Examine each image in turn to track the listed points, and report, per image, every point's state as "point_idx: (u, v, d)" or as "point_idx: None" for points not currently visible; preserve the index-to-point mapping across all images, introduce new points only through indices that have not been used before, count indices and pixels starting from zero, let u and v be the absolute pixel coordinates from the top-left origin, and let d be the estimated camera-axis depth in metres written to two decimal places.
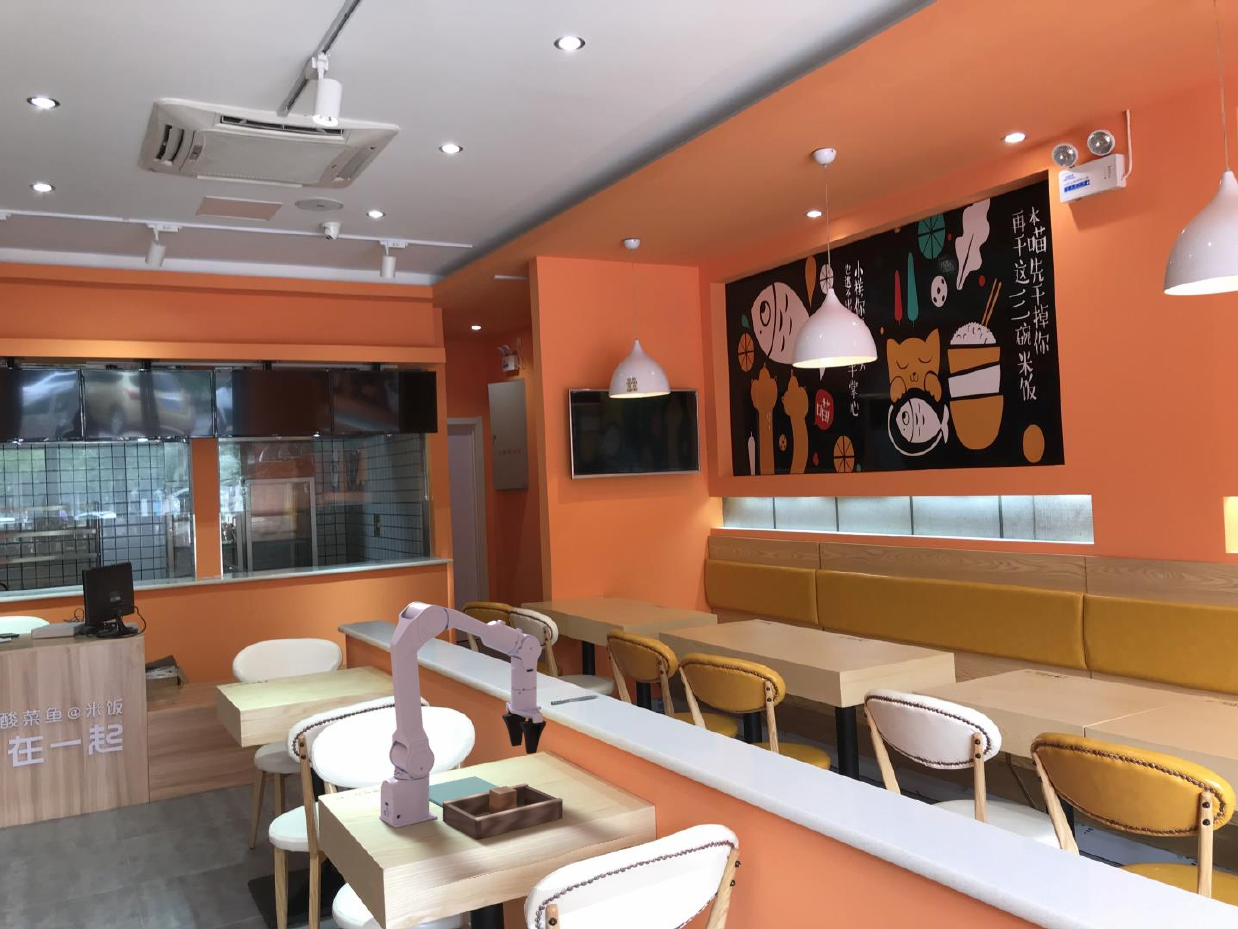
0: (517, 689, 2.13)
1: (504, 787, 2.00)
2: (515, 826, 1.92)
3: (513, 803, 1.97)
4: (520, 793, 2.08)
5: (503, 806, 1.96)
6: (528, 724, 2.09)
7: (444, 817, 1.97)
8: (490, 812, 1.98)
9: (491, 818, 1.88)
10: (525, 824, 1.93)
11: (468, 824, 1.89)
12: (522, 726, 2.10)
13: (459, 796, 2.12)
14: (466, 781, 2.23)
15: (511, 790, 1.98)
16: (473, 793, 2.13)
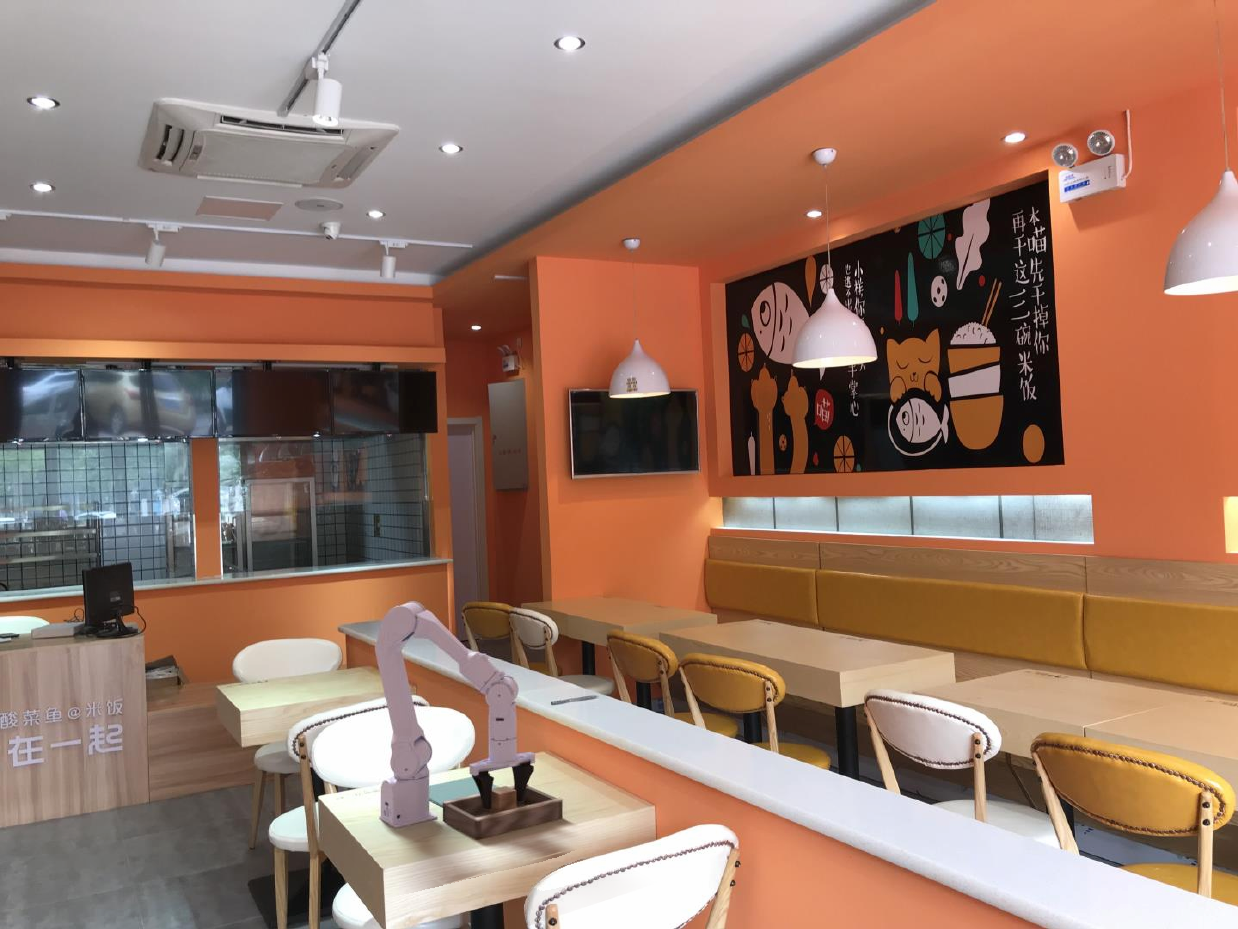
0: None
1: (503, 786, 2.00)
2: (515, 826, 1.92)
3: (513, 803, 1.97)
4: None
5: (503, 806, 1.96)
6: None
7: (444, 817, 1.97)
8: (490, 812, 1.98)
9: (491, 818, 1.88)
10: (525, 824, 1.93)
11: (468, 824, 1.89)
12: None
13: (459, 796, 2.12)
14: (466, 781, 2.23)
15: (511, 790, 1.98)
16: (473, 793, 2.13)
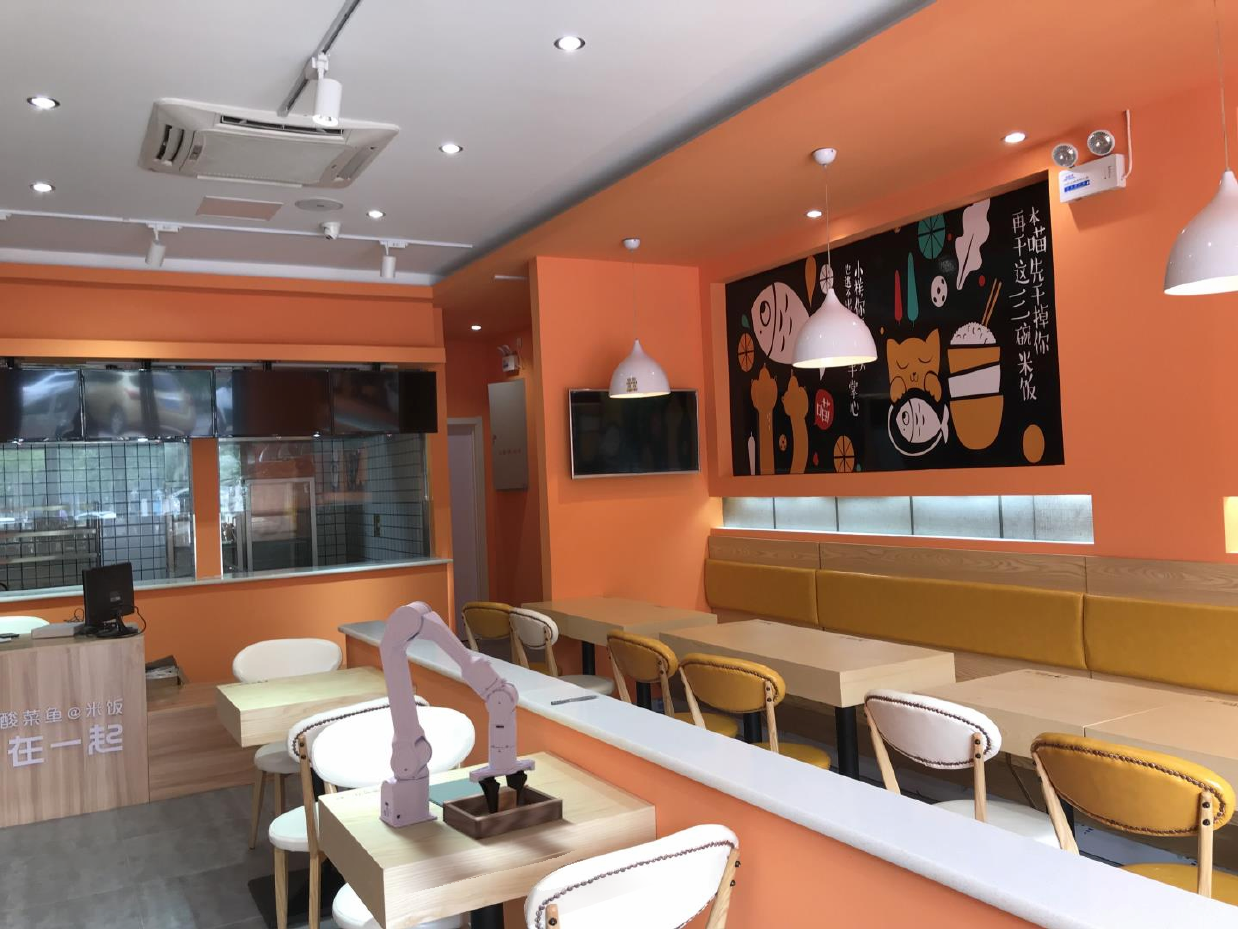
0: None
1: (503, 786, 2.00)
2: (515, 826, 1.92)
3: (513, 803, 1.97)
4: (520, 793, 2.08)
5: (503, 806, 1.96)
6: None
7: (444, 817, 1.97)
8: None
9: (491, 818, 1.88)
10: (525, 824, 1.93)
11: (468, 824, 1.89)
12: None
13: (459, 796, 2.12)
14: (466, 781, 2.23)
15: (511, 790, 1.98)
16: (473, 793, 2.13)
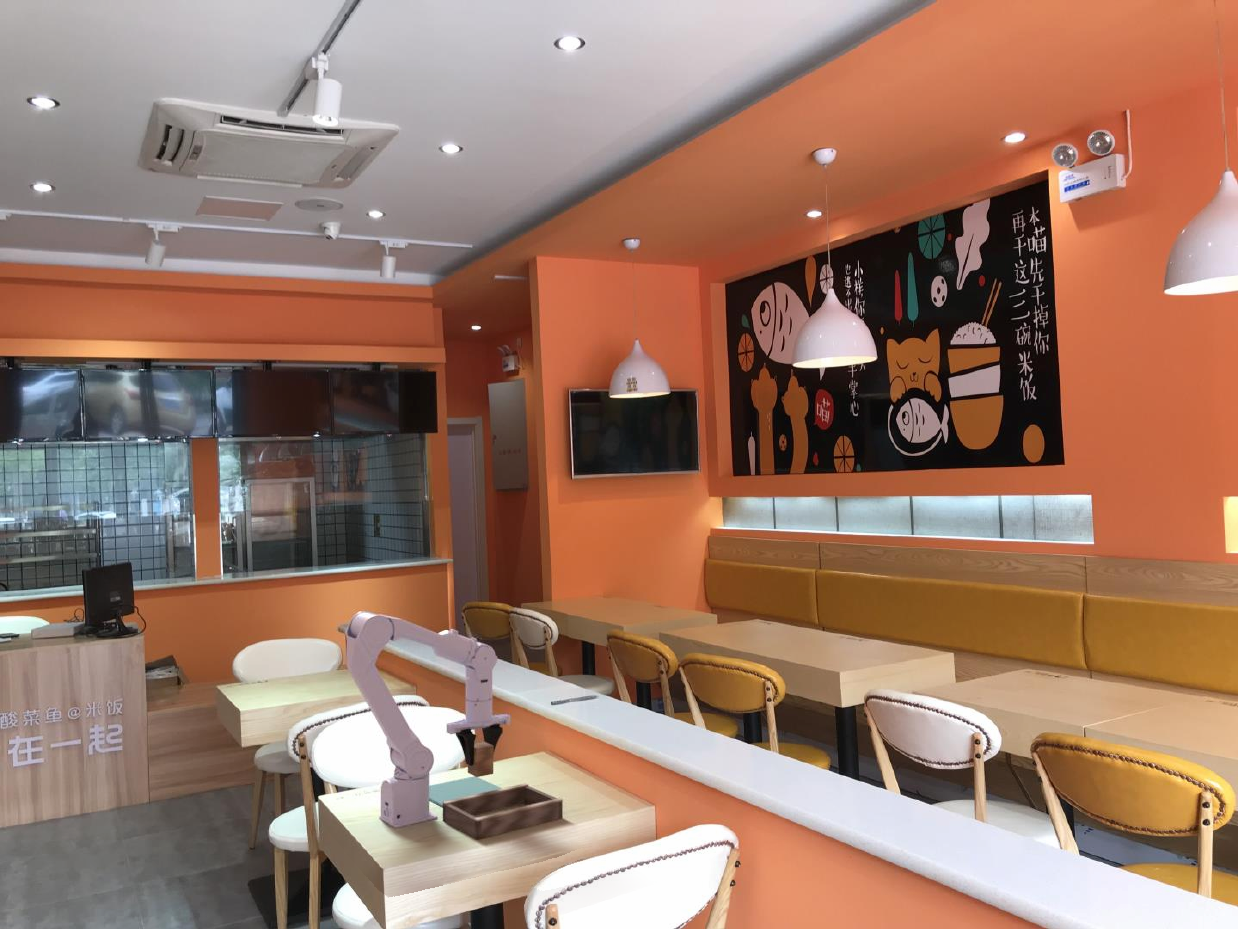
0: None
1: (482, 742, 2.10)
2: (515, 826, 1.92)
3: (490, 757, 2.07)
4: (520, 793, 2.08)
5: (480, 760, 2.05)
6: (455, 731, 2.07)
7: (444, 817, 1.97)
8: (468, 766, 2.08)
9: (491, 818, 1.88)
10: (525, 824, 1.93)
11: (468, 824, 1.89)
12: None
13: (459, 796, 2.12)
14: (466, 781, 2.23)
15: (488, 745, 2.07)
16: (473, 793, 2.13)
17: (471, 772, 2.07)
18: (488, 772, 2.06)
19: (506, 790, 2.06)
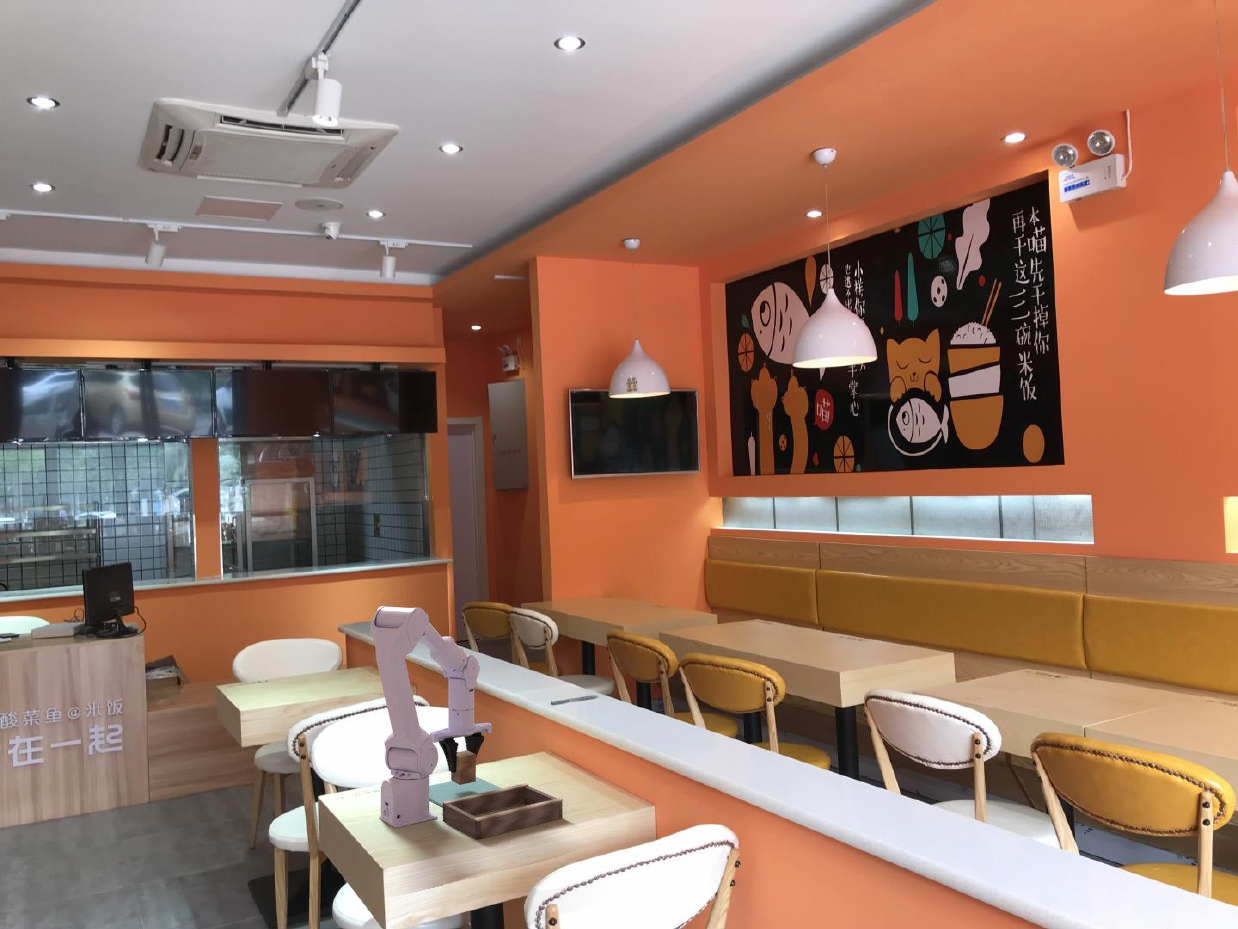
0: None
1: (465, 751, 2.17)
2: (515, 826, 1.92)
3: (473, 766, 2.14)
4: (520, 793, 2.08)
5: (463, 769, 2.13)
6: None
7: (444, 817, 1.97)
8: (452, 774, 2.15)
9: (491, 818, 1.88)
10: (525, 824, 1.93)
11: (468, 824, 1.89)
12: None
13: (459, 796, 2.12)
14: None
15: (471, 754, 2.15)
16: (473, 793, 2.13)
17: (454, 780, 2.14)
18: (471, 780, 2.14)
19: (506, 790, 2.06)
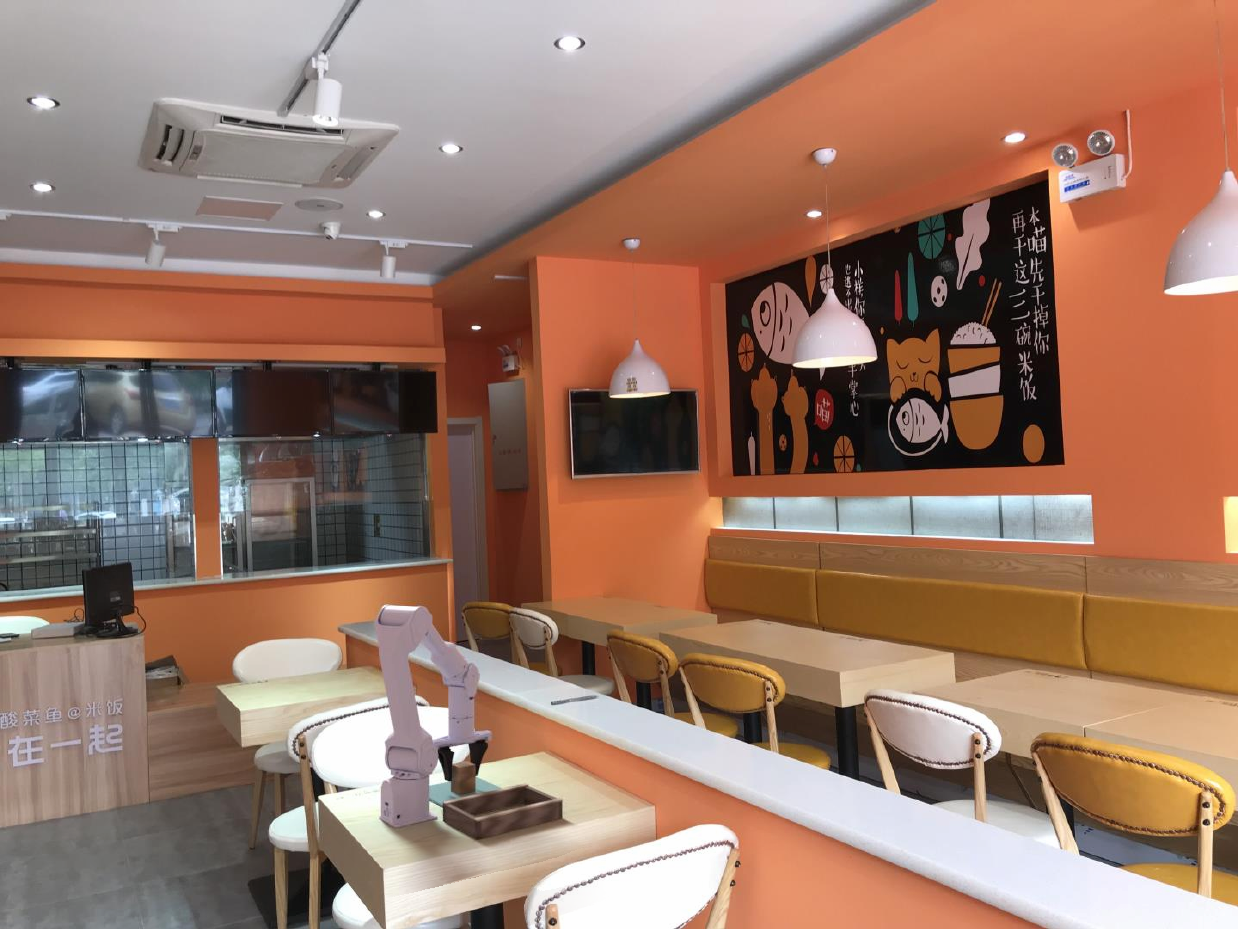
0: None
1: (464, 761, 2.17)
2: (515, 826, 1.92)
3: (472, 776, 2.14)
4: (520, 793, 2.08)
5: (463, 779, 2.13)
6: None
7: (444, 817, 1.97)
8: (451, 785, 2.15)
9: (491, 818, 1.88)
10: (525, 824, 1.93)
11: (468, 824, 1.89)
12: None
13: (459, 796, 2.12)
14: None
15: (471, 764, 2.15)
16: (473, 793, 2.13)
17: (454, 791, 2.14)
18: (470, 790, 2.14)
19: (506, 790, 2.06)
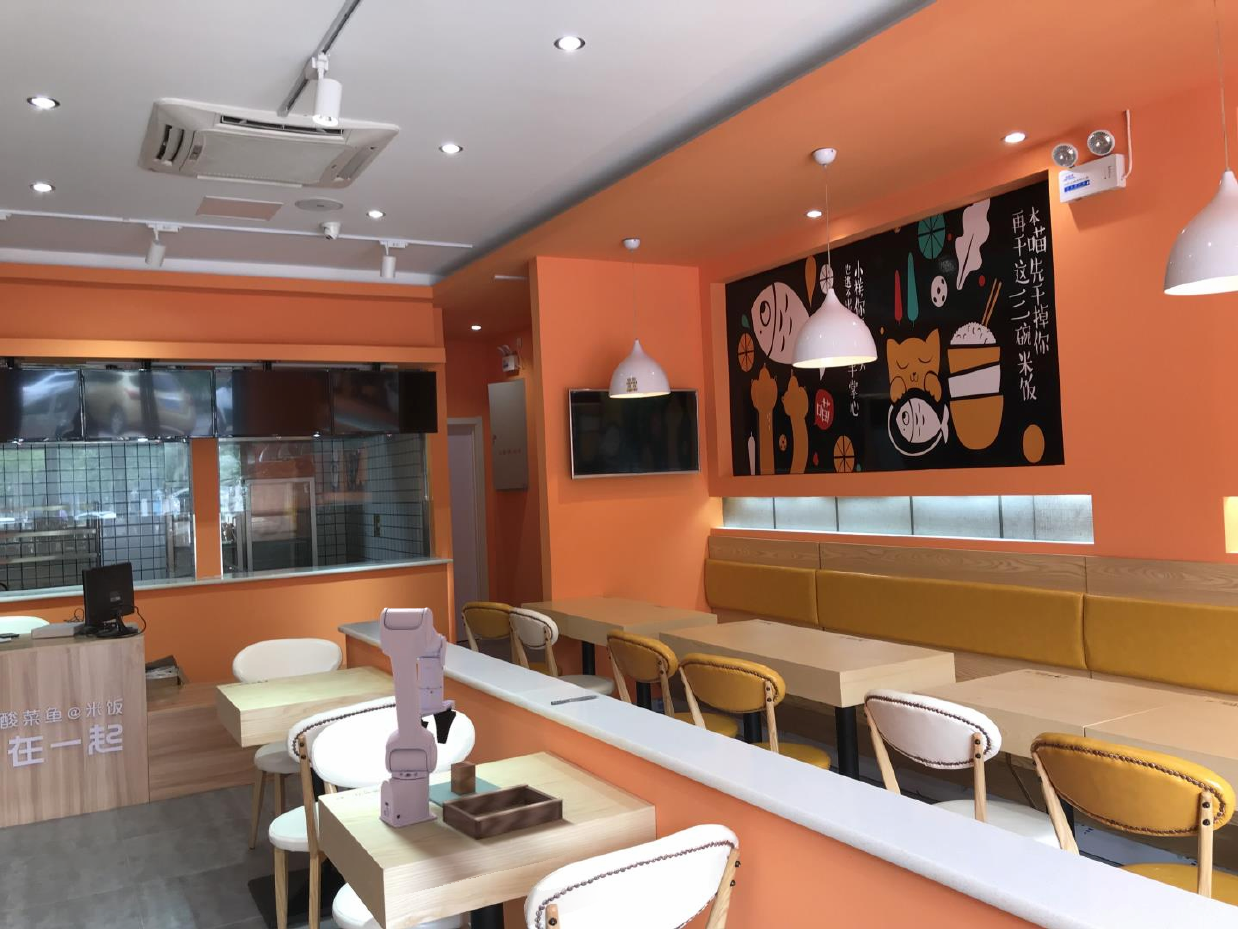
0: (418, 686, 2.19)
1: (464, 761, 2.17)
2: (515, 826, 1.92)
3: (472, 776, 2.14)
4: (520, 793, 2.08)
5: (463, 779, 2.13)
6: None
7: (444, 817, 1.97)
8: (451, 785, 2.15)
9: (491, 818, 1.88)
10: (525, 824, 1.93)
11: (468, 824, 1.89)
12: None
13: (459, 796, 2.12)
14: None
15: (471, 764, 2.15)
16: (473, 793, 2.13)
17: (454, 791, 2.14)
18: (470, 790, 2.14)
19: (506, 790, 2.06)
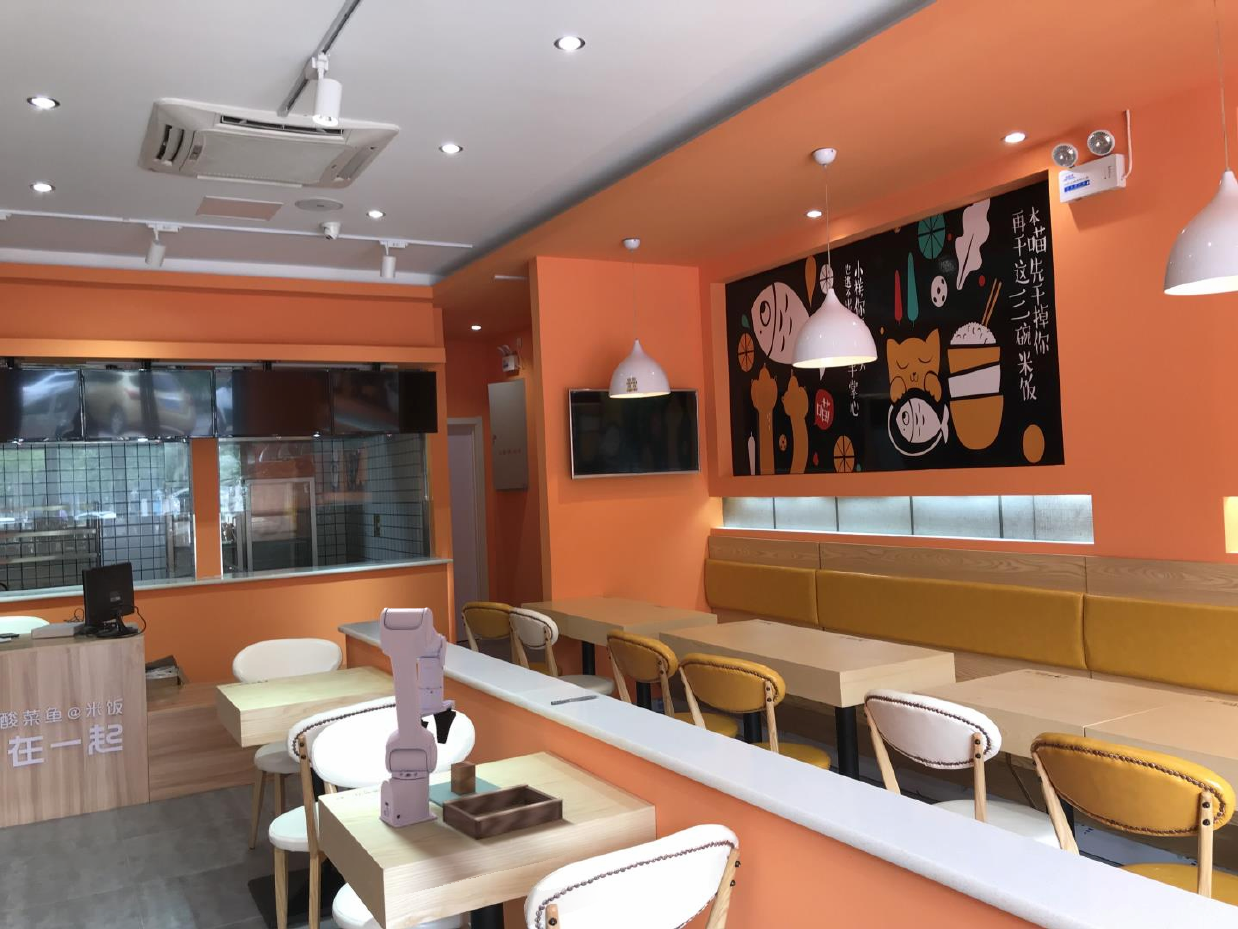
0: (418, 686, 2.19)
1: (464, 761, 2.17)
2: (515, 826, 1.92)
3: (472, 776, 2.14)
4: (520, 793, 2.08)
5: (463, 779, 2.13)
6: None
7: (444, 817, 1.97)
8: (451, 785, 2.15)
9: (491, 818, 1.88)
10: (525, 824, 1.93)
11: (468, 824, 1.89)
12: None
13: (459, 796, 2.12)
14: None
15: (471, 764, 2.15)
16: (473, 793, 2.13)
17: (454, 791, 2.14)
18: (470, 790, 2.14)
19: (506, 790, 2.06)
